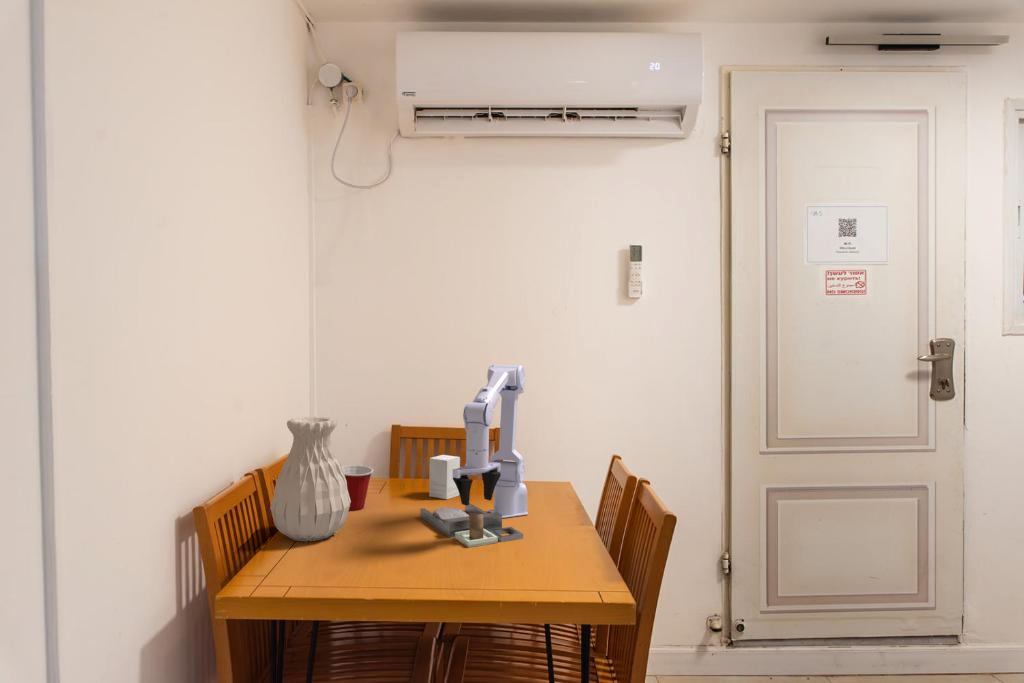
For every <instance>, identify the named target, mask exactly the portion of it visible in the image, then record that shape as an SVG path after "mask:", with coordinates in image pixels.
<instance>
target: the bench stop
mask: <svg viewBox="0 0 1024 683" xmlns="http://www.w3.org/2000/svg"><path fill="white" fill-rule="evenodd" d="M464 512H465V513H467V514H468V515H469V514H471V513H482V514H483V528H484V529H485V530H487V531H489V530H493V529H500V528H503V518H502V515H501V514H499V513H497V512H496V513H490V512H487V511H485V510H483V509H481V508H479V507H478V506H476V505H474V504H472V503H471V502H469V505H467V506H466V505H464ZM419 517H420V518H421V519H422V520H424V521H425V522H426V523H428V524H429V525H430V526H432V527H434V528H435V529H436V530H438V531H439V532H441V533H442V534H444V535H445V536H447V537H448V538H449V539H451V538H455V532H461V531H468V530H469V516H466V517H459V518H452V519H445V522H444V521H443V520H441V519H440V518H438V517H437V516H435V515H434V514H433V512H431V511H429V510H428V509H426V508H425V507H423V508H419Z"/></svg>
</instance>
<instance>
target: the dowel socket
mask: <svg viewBox="0 0 1024 683" xmlns="http://www.w3.org/2000/svg"><path fill="white" fill-rule="evenodd" d="M489 532H490V533H492V534H494V535H495V536H497V537H498V541H499V542H501V543H502V542H503V543H504V542H509V541H514V540H522V539H524V533H523V532H521V531H519V530H518V529H516V528H514V527H513V526H507V527H502V528H500V529H493V530H489ZM507 533H508V534H507ZM509 533H510V534H509ZM502 534H506V535H502Z"/></svg>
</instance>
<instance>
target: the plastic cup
mask: <svg viewBox="0 0 1024 683" xmlns="http://www.w3.org/2000/svg"><path fill="white" fill-rule="evenodd" d="M341 468H342V471H343V473H344V474H345V478H346V481H347V490H348V493H349V497H350V500H351V503H350V507H349V511H348V512H350V511H361V510H363V509H364V507H365V503H366V498H367V496H368V495H367V494H368V489H369V484H370V480H371V477H372V474H373V472H374V469H373V468H372V467H370V466H365V465H361V464H360V465H358V464H349V465H342V466H341Z"/></svg>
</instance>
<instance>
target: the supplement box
mask: <svg viewBox="0 0 1024 683" xmlns="http://www.w3.org/2000/svg"><path fill="white" fill-rule="evenodd" d="M428 465H429V470H428V471H429V475H428V476H429V478H428V479H429V481H428V482H429V483H428V484H429V488H428V489H429V491H428V492H429V494H428V495H429V498H436V499H442V500H449V499H453V498H455V497H458V496H459V497H460V494H459V491H458V488H457V486H456V484H455V482H454V480H453V469H457V468H460V467H461V457H460V456H456V455H455V456H453V455H447V454H440V455H437V456H433V457H429V464H428Z"/></svg>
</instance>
